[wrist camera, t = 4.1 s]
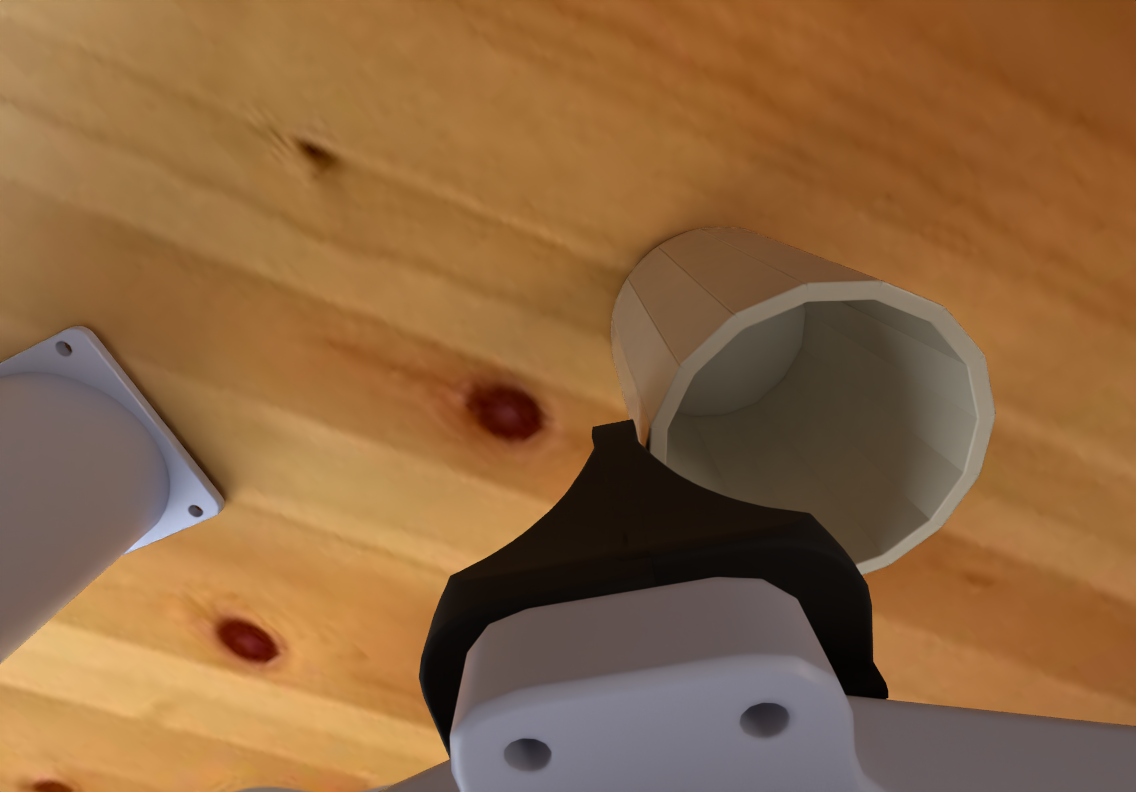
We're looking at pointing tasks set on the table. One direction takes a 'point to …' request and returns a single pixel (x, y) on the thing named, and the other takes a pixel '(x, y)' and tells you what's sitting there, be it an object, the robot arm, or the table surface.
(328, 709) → the table surface
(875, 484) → the cream cup
